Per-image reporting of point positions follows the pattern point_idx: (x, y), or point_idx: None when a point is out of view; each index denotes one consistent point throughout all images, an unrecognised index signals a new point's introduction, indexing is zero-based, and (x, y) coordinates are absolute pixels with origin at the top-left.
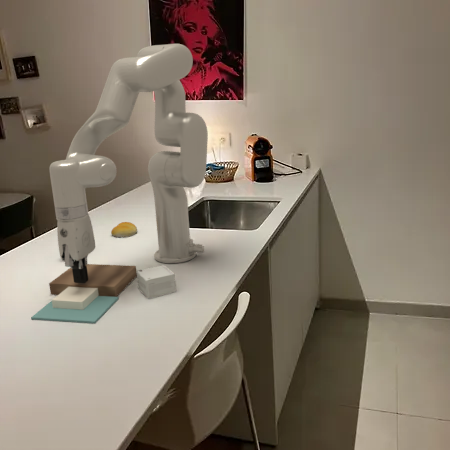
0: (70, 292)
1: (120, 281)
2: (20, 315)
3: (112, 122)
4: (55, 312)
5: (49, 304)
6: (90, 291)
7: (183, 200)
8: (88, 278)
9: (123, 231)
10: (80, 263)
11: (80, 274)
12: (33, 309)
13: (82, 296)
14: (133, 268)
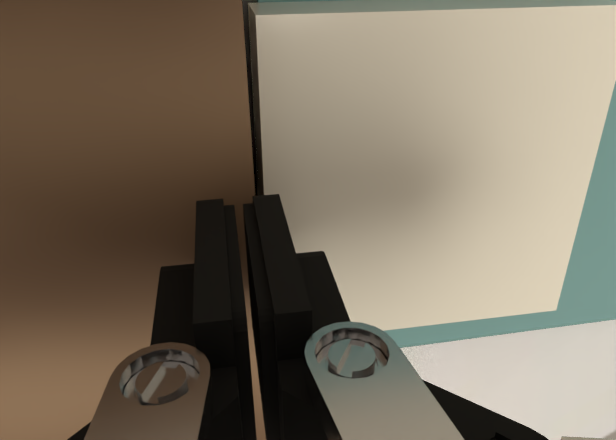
0: (401, 254)
1: None
2: (576, 391)
3: None
4: (602, 207)
5: (466, 324)
6: (362, 58)
7: None
8: (59, 264)
9: None
10: (405, 407)
11: (330, 292)
12: (500, 377)
13: (494, 80)
14: None
